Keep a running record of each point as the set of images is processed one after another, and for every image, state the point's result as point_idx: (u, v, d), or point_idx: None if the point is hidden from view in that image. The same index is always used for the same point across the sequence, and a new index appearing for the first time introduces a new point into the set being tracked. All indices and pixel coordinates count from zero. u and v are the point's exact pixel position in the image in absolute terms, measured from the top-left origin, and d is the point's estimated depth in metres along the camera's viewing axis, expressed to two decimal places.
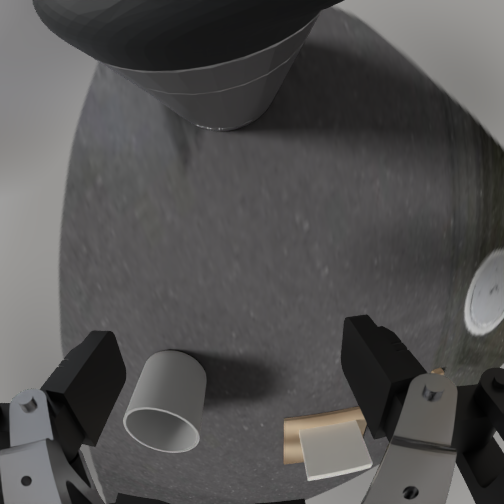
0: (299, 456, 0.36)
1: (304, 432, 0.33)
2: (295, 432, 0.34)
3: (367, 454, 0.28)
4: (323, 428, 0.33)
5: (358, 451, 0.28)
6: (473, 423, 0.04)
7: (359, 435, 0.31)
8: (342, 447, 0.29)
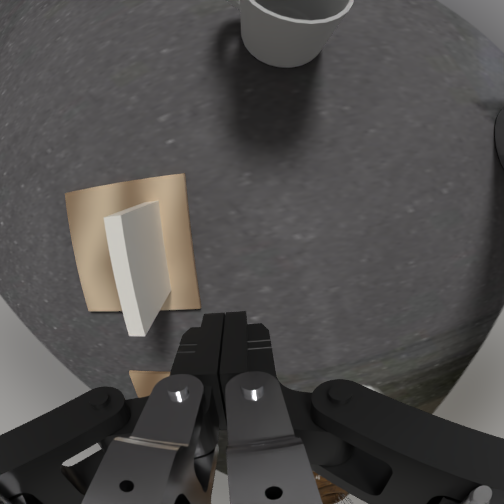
0: (83, 214, 0.24)
1: (157, 208, 0.23)
2: (152, 196, 0.23)
3: (151, 321, 0.19)
4: (162, 239, 0.24)
5: (151, 304, 0.20)
6: (301, 434, 0.05)
7: (162, 300, 0.23)
8: (151, 274, 0.21)
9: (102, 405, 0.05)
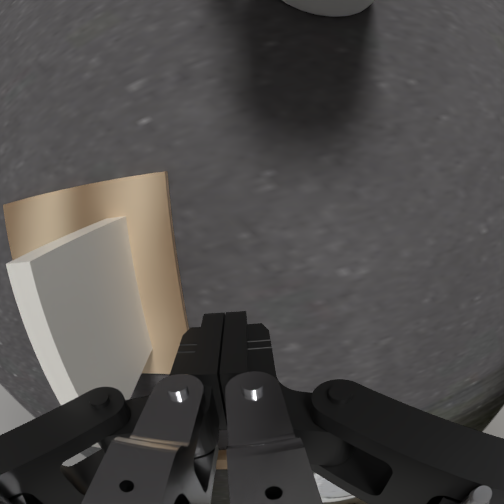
0: (25, 236, 0.14)
1: (122, 229, 0.14)
2: (117, 208, 0.14)
3: None
4: (132, 277, 0.15)
5: None
6: (301, 434, 0.05)
7: (137, 373, 0.13)
8: (113, 344, 0.11)
9: (102, 405, 0.05)
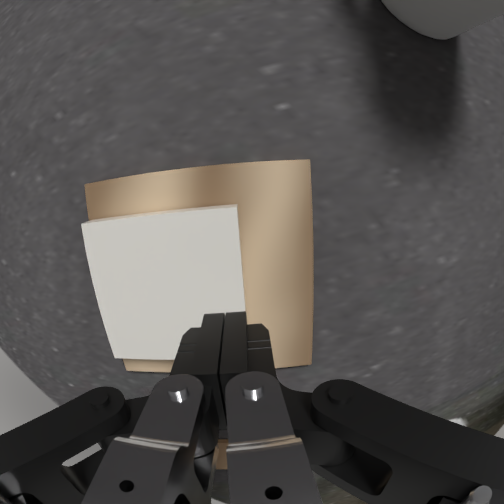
0: None
1: (224, 221, 0.13)
2: (254, 193, 0.14)
3: (137, 355, 0.15)
4: (233, 276, 0.14)
5: (146, 341, 0.15)
6: (301, 434, 0.05)
7: None
8: (160, 312, 0.14)
9: (102, 405, 0.05)
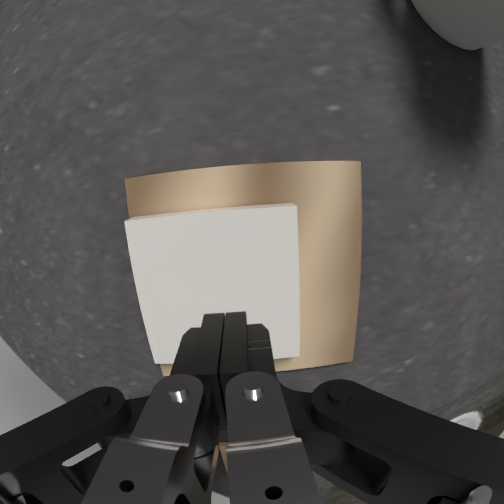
0: None
1: (283, 220, 0.13)
2: (308, 192, 0.14)
3: None
4: (290, 275, 0.14)
5: None
6: (301, 434, 0.05)
7: None
8: None
9: (102, 405, 0.05)
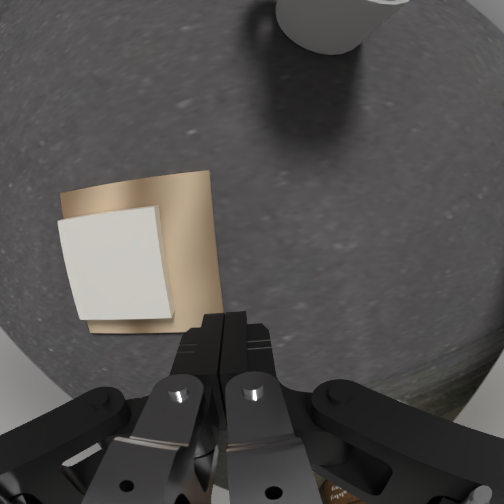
0: None
1: (146, 217, 0.18)
2: (170, 197, 0.20)
3: (95, 317, 0.20)
4: (154, 255, 0.19)
5: (100, 305, 0.20)
6: (301, 434, 0.05)
7: (133, 315, 0.20)
8: (109, 282, 0.20)
9: (102, 405, 0.05)
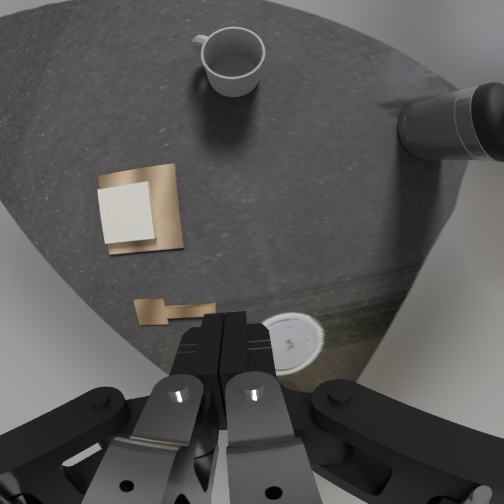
0: None
1: (143, 186, 0.37)
2: (155, 177, 0.39)
3: (114, 241, 0.39)
4: (147, 205, 0.38)
5: (118, 234, 0.39)
6: (301, 434, 0.05)
7: (135, 238, 0.39)
8: (123, 220, 0.39)
9: (102, 405, 0.05)
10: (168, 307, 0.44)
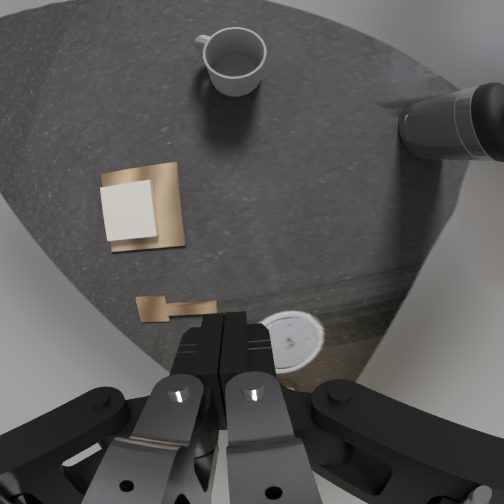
0: None
1: (146, 184, 0.38)
2: (158, 175, 0.39)
3: (116, 238, 0.40)
4: (149, 203, 0.39)
5: (120, 231, 0.40)
6: (301, 434, 0.05)
7: (137, 235, 0.40)
8: (125, 218, 0.39)
9: (102, 405, 0.05)
10: (169, 304, 0.44)
